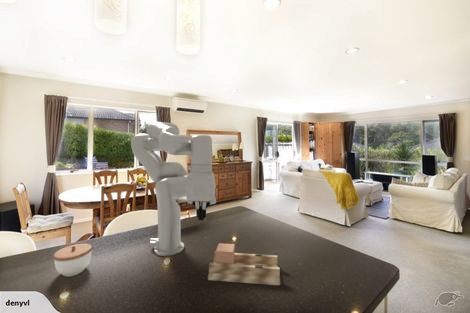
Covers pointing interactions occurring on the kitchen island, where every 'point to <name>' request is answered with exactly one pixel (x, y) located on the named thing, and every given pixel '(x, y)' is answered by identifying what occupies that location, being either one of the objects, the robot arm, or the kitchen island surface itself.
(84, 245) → the lidded jar
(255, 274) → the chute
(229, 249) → the block
